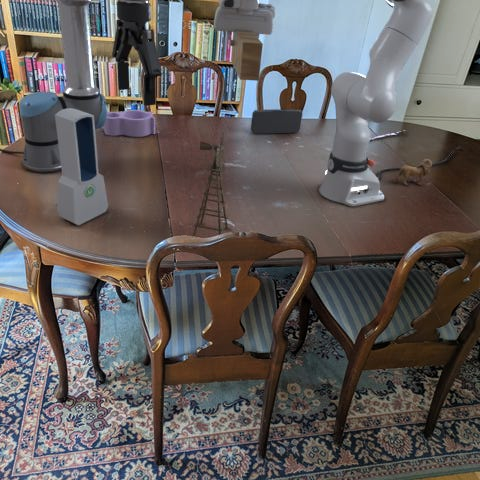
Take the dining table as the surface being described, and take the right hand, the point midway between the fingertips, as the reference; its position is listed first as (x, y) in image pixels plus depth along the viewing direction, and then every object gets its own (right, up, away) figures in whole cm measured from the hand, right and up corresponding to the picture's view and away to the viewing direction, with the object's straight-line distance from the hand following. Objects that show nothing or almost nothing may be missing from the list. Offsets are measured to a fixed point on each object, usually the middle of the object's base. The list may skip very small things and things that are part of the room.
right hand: (241, 46), depth 162 cm
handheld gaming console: (+15, -20, +45) cm, 51 cm away
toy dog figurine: (+63, -46, +13) cm, 79 cm away
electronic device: (-46, -60, -28) cm, 80 cm away
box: (+1, -10, -5) cm, 11 cm away
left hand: (-26, -32, -47) cm, 63 cm away
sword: (+67, -20, +53) cm, 88 cm away
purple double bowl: (-46, -23, +30) cm, 59 cm away
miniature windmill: (-9, -65, -30) cm, 73 cm away
